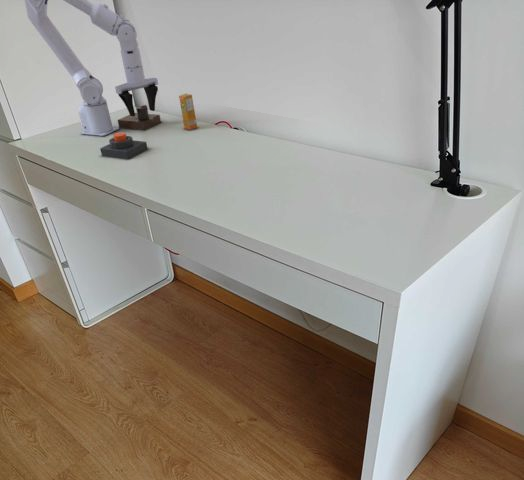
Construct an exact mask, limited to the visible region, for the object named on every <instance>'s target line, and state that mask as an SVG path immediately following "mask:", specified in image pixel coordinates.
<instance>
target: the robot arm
mask: <svg viewBox="0 0 524 480" xmlns="http://www.w3.org/2000/svg"><path fill="white" fill-rule="evenodd" d="M48 1H49V0H24V4H25V9H26V15H27V18H28V20H29V21H30V23H31V24H32V25H33V26H34V28H35V30H36V31H37V32H38V33H39V35H40V36H41V38H42V39H43V40H44V42H45V43H46V44H47V46H48V47H49V49H50V50H51V51H52V52H53V54H54V55H55V56H56V57H57V59H58V60H59V61H60V63H61V64H62V66H64V68H65V69H66V71H67V72H68V73H69V75H70V76H71V77H72V80H73V81H74V84H75V86H76V87H77V88H78V90H79V92H80V96H81V98H82V100H83V102H82V103H80V104H79V106H78V117H79V120H80V124H81V127H82V130H83V131H82V132H81V133H82V135H90V136H101V137H104V136H107V135H109V134H111V133H113V132H115V131H118V130H120V128H119V126H118V127H117V126H116V127H115V126H113V122H112V118H111V114H110V110H109V106H108V102H107V99H106V98H105V97H104V96H103V92H104V88H103V84H102V82H101V81H100V80H99V79H98V78H96V77H95V76H93V74H92V73H91V72H90V71H89V70H88V69H87V67H85V66H84V64H83V63H82V61H81V60H80V59H79V57H78V56H77V55H76V53H75V52H74V51H73V49H72V47H70V45H69V44H68V42H67V41H66V39H65V38H64V36H63V35H62V34H61V32H60V31H59V29H57V27H56V26H55V25H54V22H52V20H51V19H50V18H49V16H48ZM63 1H64V2H65V3H67V4H69V5H70V6H72V7H73V8H75V9H76V10H77V9H78V10H79V11H80V12H82V13H84V14H85V15H87V16H89V18H90V21H91V23H92V24H93V25H94V26H95V27H97V28H99V29H101V30H103V31H104V32H106V33H107V34H109V35H111V36H112V37H114V36H115V37H116V38H117V41H118V42H119V47H120V56H121V59H122V65H123V69H124V74H125V79H126V82H125V83H122V84H119V85H115V86H114V89H115V93H116V94H117V95H118V97H119V98H120V99H121V100H122V102H123V104H124V105H125V107H126V109H127V111H128V113H129V114H128V115H130V116H135V113H136V112H135V107H134V101H133V99H134V98H133V96H134V95H133V94H132V93H130V92H131V91H135V90H139V89H143V90H144V93H145V96H146V99H147V104H148V108H149V111H151V112H154V111H156V97H157V94H158V91H159V88H158V85H159V81H158V77H148V78H146V77H145V73H144V72H145V71H144V66H143V62H142V56H141V52H140V48H139V43H138V41H137V30H136V27H135V26H134V24H133V23H132V22H130V20H129V19H124V18H125V17H124V16H123V15H122V14H120V15H119V14H117V13H116V12H115V11H113V10H111V9H109V5H108V4H106V3H103V4H102V3H95V4H93V3H92V2H90V0H89V1H88V0H63Z"/></svg>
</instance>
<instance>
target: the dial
mask: <svg viewBox="0 0 524 480" xmlns="http://www.w3.org/2000/svg"><path fill="white" fill-rule="evenodd" d="M135 108H136V109H135V110H136V113H137V115H138V119H139V120H146V119H149V114H150V113H149V110H148V106H147V104H143V105H139V106H137V107H135Z"/></svg>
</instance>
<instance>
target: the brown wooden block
mask: <svg viewBox="0 0 524 480" xmlns="http://www.w3.org/2000/svg"><path fill="white" fill-rule="evenodd" d="M148 114H149V119H146V120H139V119H138V115H137V112H135V116H130V114H128V115H126V116H123V117H121V118H119V119H117V123H118V128H119V129H128V130H129V129H130V130H139V131H146V130H148V129H150V128H153V127H155V126H156V125H159V124H160V123H162V120H161V115H160V114H158V113H157V114H155V113H148Z"/></svg>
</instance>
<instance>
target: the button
mask: <svg viewBox="0 0 524 480" xmlns="http://www.w3.org/2000/svg"><path fill="white" fill-rule="evenodd" d="M126 136H127V133H126V132H116V133H114V134H112V138H114V141H117V142H118V141H124V140H127V137H126Z"/></svg>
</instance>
